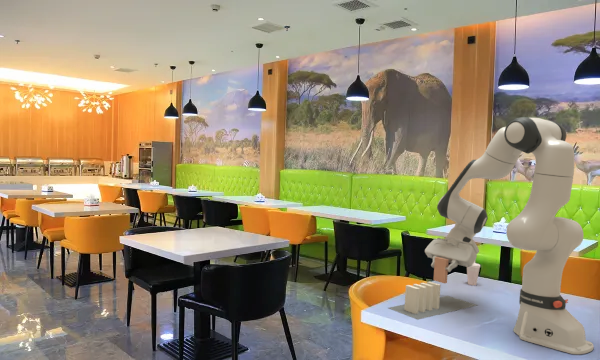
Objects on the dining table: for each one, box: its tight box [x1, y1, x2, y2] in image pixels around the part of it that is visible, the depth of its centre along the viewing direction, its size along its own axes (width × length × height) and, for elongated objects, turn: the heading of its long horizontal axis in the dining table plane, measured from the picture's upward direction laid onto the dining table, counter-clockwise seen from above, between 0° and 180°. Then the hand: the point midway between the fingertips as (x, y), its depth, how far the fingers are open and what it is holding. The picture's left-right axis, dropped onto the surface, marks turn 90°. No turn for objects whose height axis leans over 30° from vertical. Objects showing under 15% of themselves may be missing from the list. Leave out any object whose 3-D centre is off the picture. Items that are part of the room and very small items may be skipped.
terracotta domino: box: [433, 257, 449, 284], centre depth 172 cm, size 2×5×9 cm, turn 36°
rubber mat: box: [388, 295, 478, 321], centre depth 170 cm, size 14×36×1 cm, turn 126°
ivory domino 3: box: [419, 282, 434, 311], centre depth 167 cm, size 2×5×9 cm, turn 36°
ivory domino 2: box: [412, 283, 427, 312], centre depth 165 cm, size 2×5×9 cm, turn 36°
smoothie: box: [466, 260, 481, 286], centre depth 210 cm, size 6×6×14 cm
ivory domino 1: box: [404, 284, 420, 314], centre depth 162 cm, size 2×5×9 cm, turn 36°
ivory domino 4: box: [426, 281, 442, 309], centre depth 169 cm, size 2×5×9 cm, turn 36°
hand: (440, 268), depth 171 cm, fingers closed on terracotta domino, 5 cm apart
